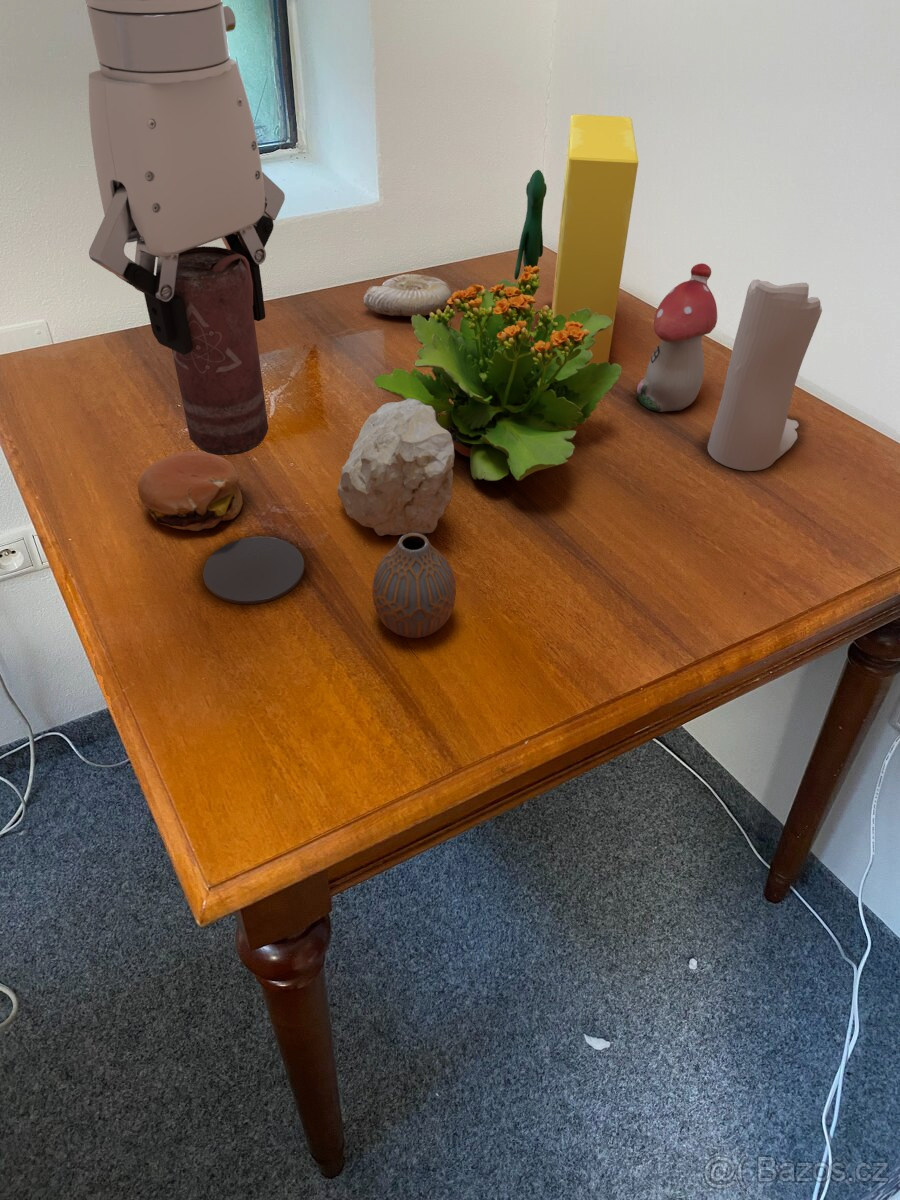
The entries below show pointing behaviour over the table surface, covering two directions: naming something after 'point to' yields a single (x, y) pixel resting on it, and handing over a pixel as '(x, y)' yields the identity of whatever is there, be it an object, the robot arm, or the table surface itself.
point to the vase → (414, 588)
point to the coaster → (253, 570)
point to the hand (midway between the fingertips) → (212, 328)
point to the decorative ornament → (679, 344)
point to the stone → (399, 470)
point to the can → (220, 352)
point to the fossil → (408, 296)
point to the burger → (191, 490)
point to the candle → (763, 376)
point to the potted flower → (507, 377)
